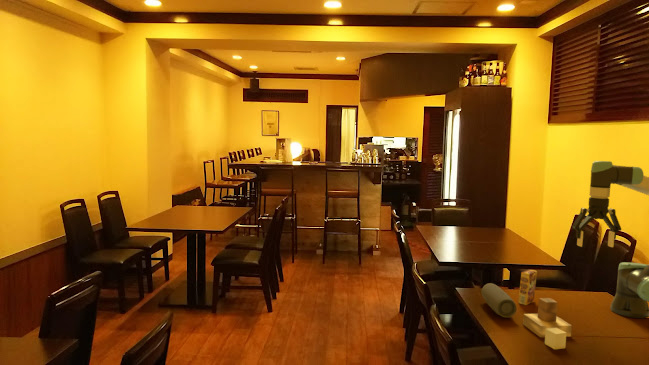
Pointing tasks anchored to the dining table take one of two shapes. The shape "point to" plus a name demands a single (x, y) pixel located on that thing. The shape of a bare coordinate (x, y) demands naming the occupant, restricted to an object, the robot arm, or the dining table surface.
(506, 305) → the bluetooth speaker
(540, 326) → the beech block
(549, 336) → the stoneware cube
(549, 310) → the walnut block
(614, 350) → the dining table surface
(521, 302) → the candy box
